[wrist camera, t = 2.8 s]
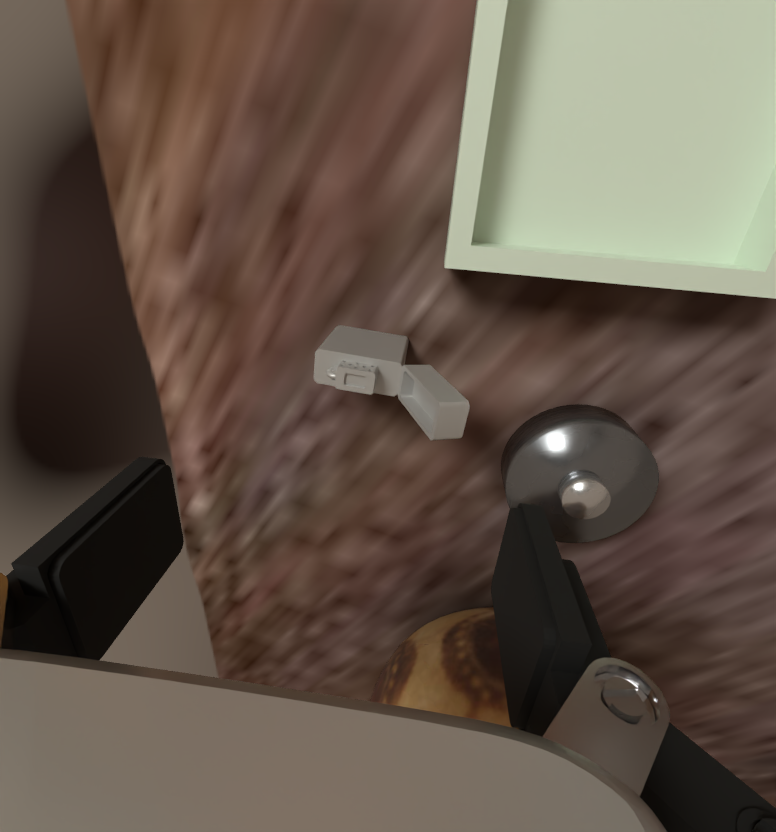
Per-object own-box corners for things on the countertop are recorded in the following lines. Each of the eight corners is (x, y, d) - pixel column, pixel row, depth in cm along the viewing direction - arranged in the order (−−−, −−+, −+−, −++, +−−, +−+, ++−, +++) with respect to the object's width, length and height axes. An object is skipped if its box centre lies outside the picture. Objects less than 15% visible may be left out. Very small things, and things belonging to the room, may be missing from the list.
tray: (924, -148, 14) (1035, -229, 11) (735, 286, 21) (779, 298, 18) (497, -159, 15) (508, -235, 12) (444, 259, 22) (444, 268, 19)
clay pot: (355, 744, 37) (290, 1155, 17) (396, 540, 36) (375, 738, 16) (574, 794, 37) (766, 1285, 17) (626, 589, 35) (906, 860, 15)
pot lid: (661, 413, 24) (694, 446, 21) (615, 524, 27) (638, 566, 24) (515, 397, 24) (526, 426, 21) (490, 507, 28) (496, 547, 25)
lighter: (333, 353, 24) (288, 416, 17) (335, 324, 24) (290, 377, 17) (456, 375, 24) (461, 447, 17) (462, 346, 23) (471, 409, 16)
